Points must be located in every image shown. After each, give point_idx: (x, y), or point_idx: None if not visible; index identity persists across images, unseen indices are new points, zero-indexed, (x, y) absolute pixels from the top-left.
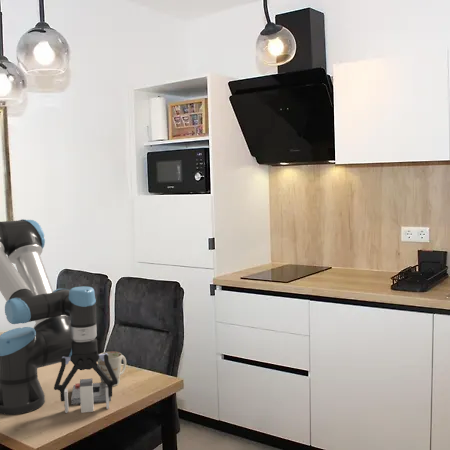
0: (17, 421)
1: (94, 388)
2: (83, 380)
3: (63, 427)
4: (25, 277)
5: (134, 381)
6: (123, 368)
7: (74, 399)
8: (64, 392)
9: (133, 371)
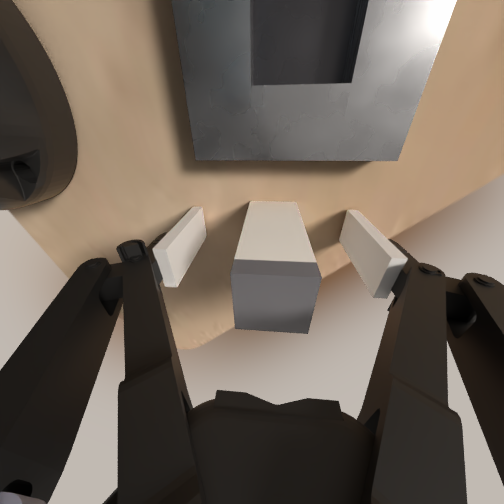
0: (74, 249)
1: None
2: (255, 294)
3: (214, 308)
4: None
5: None
6: None
7: (212, 158)
8: (167, 283)
9: None
